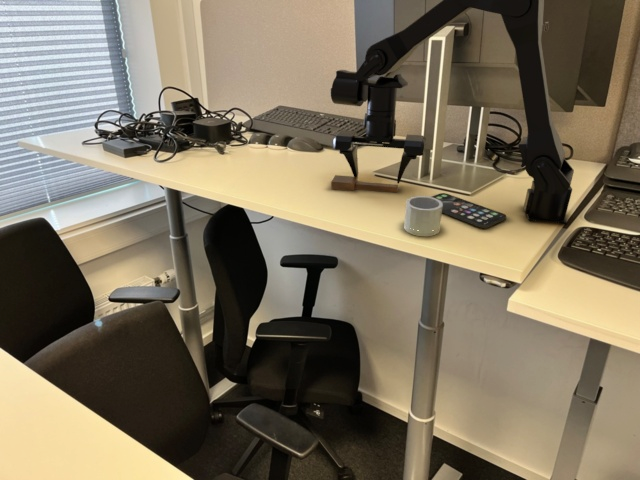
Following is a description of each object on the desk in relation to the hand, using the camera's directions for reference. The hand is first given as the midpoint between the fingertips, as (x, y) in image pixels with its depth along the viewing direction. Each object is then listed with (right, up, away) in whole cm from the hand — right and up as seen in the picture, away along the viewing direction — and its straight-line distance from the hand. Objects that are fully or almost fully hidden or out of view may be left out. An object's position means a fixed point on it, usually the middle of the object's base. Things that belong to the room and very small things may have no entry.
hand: (377, 181), depth 102 cm
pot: (+6, -11, -19) cm, 22 cm away
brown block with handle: (-3, -2, -1) cm, 4 cm away
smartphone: (+15, -8, -12) cm, 21 cm away
